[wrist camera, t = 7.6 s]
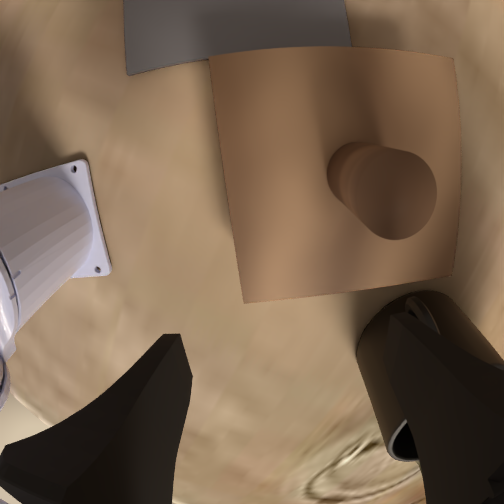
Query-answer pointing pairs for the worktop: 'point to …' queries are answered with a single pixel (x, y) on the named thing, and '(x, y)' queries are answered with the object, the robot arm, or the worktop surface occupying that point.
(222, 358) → the worktop surface
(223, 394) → the worktop surface
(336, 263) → the lid
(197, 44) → the mat
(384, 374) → the mug
